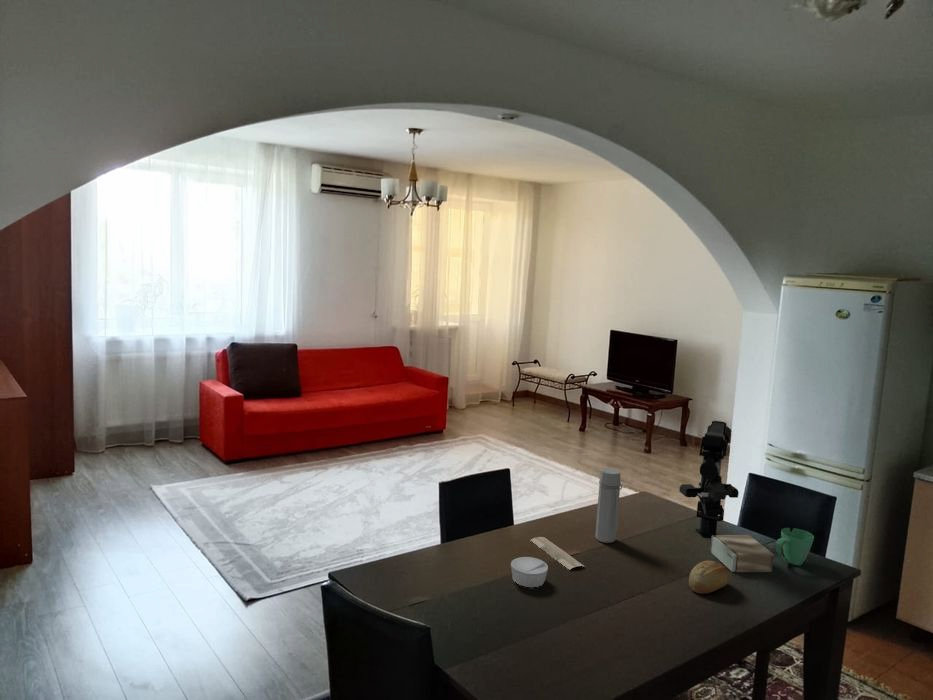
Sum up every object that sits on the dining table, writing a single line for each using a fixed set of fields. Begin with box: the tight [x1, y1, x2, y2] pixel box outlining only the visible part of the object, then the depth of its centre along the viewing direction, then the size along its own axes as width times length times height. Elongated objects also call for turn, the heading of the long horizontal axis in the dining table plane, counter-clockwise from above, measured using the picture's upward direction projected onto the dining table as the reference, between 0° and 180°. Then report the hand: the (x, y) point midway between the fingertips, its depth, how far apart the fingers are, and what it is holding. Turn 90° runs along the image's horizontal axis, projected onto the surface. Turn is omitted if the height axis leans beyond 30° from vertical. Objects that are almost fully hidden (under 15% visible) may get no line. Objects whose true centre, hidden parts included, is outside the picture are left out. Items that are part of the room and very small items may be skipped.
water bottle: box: [595, 467, 623, 544], centre depth 230 cm, size 9×8×25 cm
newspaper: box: [529, 536, 586, 571], centre depth 219 cm, size 24×7×2 cm, turn 26°
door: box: [709, 535, 737, 573], centre depth 219 cm, size 15×1×6 cm, turn 6°
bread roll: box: [688, 560, 730, 595], centre depth 200 cm, size 10×15×8 cm, turn 129°
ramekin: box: [510, 556, 549, 588], centre depth 199 cm, size 11×11×5 cm
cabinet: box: [716, 534, 774, 573], centre depth 220 cm, size 15×12×6 cm
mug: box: [775, 527, 815, 566], centre depth 220 cm, size 15×10×10 cm
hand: (706, 514), depth 227 cm, fingers closed
